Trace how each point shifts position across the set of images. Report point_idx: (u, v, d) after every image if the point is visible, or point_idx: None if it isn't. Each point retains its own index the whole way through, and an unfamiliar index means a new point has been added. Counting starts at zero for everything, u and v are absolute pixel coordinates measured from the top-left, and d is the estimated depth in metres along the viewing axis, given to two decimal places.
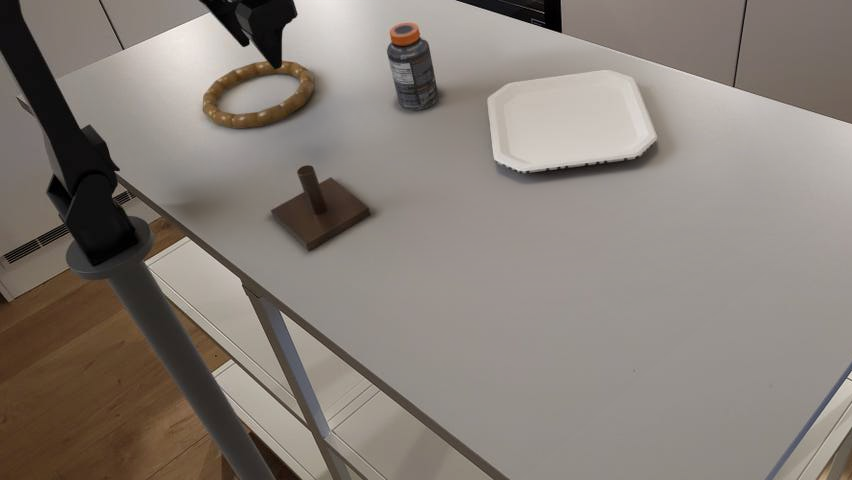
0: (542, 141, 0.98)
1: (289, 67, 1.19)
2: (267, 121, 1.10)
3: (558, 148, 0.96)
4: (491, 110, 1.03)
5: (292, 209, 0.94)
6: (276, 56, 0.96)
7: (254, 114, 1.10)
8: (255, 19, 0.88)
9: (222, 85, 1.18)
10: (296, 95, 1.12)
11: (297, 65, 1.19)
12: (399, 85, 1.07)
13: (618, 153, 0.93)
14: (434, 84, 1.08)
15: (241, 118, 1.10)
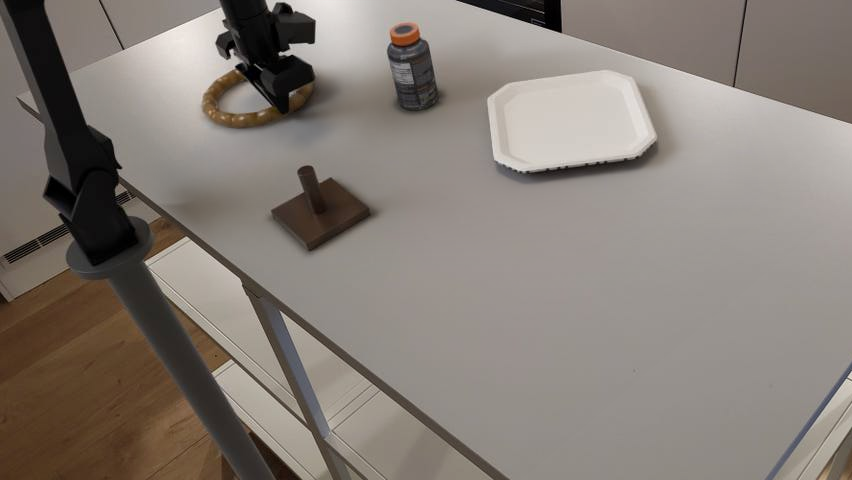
0: (542, 141, 0.98)
1: None
2: (267, 121, 1.10)
3: (558, 148, 0.96)
4: (491, 110, 1.03)
5: (292, 209, 0.94)
6: (284, 103, 1.09)
7: (254, 114, 1.10)
8: (279, 83, 0.99)
9: (222, 85, 1.18)
10: (296, 95, 1.12)
11: None
12: (399, 85, 1.07)
13: (618, 153, 0.93)
14: (434, 84, 1.08)
15: (240, 117, 1.10)
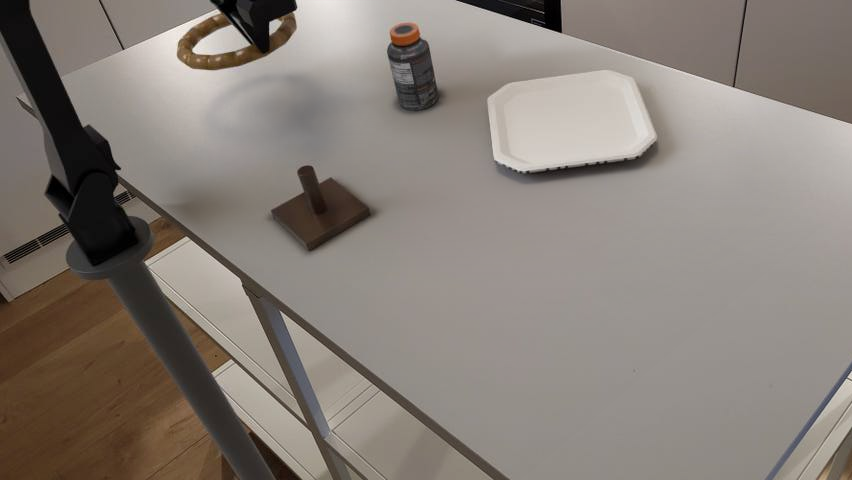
0: (542, 141, 0.98)
1: None
2: (246, 60, 1.01)
3: (558, 148, 0.96)
4: (491, 110, 1.03)
5: (292, 209, 0.94)
6: (264, 41, 1.00)
7: (231, 53, 1.00)
8: (256, 11, 0.89)
9: (198, 32, 1.09)
10: (276, 32, 1.03)
11: None
12: (399, 85, 1.07)
13: (618, 153, 0.93)
14: (434, 84, 1.08)
15: (217, 58, 1.00)
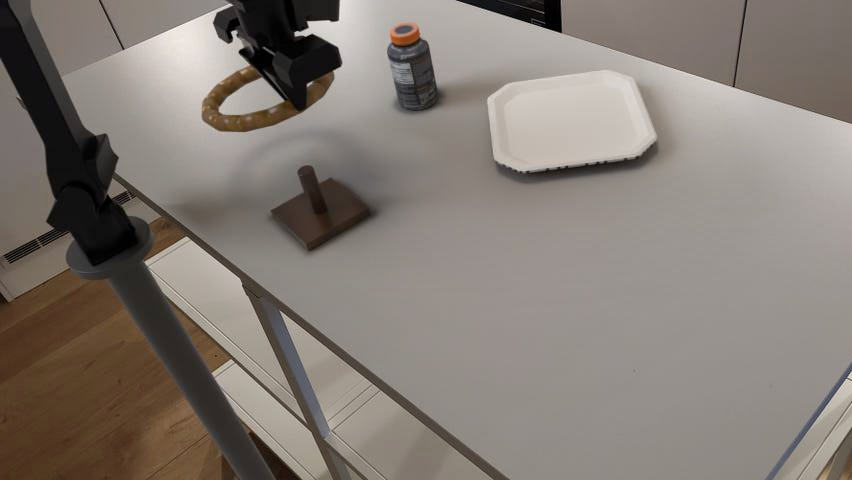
0: (542, 141, 0.98)
1: None
2: (280, 119, 0.88)
3: (558, 148, 0.96)
4: (491, 110, 1.03)
5: (292, 209, 0.94)
6: (300, 97, 0.87)
7: (263, 111, 0.88)
8: (297, 70, 0.77)
9: (224, 89, 0.97)
10: (313, 85, 0.90)
11: None
12: (399, 85, 1.07)
13: (618, 153, 0.93)
14: (434, 84, 1.08)
15: (247, 118, 0.88)
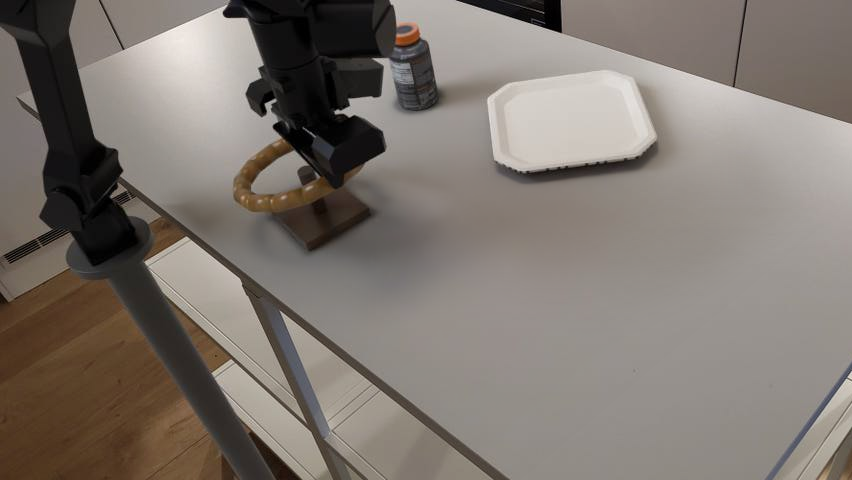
0: (542, 141, 0.98)
1: None
2: (316, 197, 0.82)
3: (558, 148, 0.96)
4: (491, 110, 1.03)
5: (292, 209, 0.94)
6: (338, 176, 0.81)
7: (298, 190, 0.82)
8: (339, 159, 0.70)
9: (257, 164, 0.92)
10: None
11: None
12: (399, 85, 1.07)
13: (618, 153, 0.93)
14: (434, 84, 1.08)
15: (281, 197, 0.82)
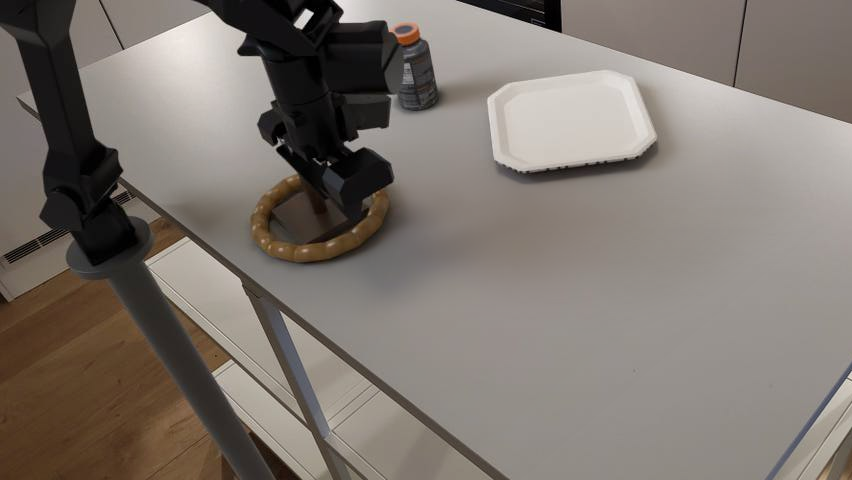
0: (542, 141, 0.98)
1: None
2: (337, 254, 0.88)
3: (558, 148, 0.96)
4: (491, 110, 1.03)
5: (292, 209, 0.94)
6: (355, 211, 0.83)
7: (321, 246, 0.87)
8: (349, 191, 0.73)
9: (272, 200, 0.95)
10: (371, 217, 0.90)
11: None
12: None
13: (618, 153, 0.93)
14: (434, 84, 1.08)
15: (305, 251, 0.87)
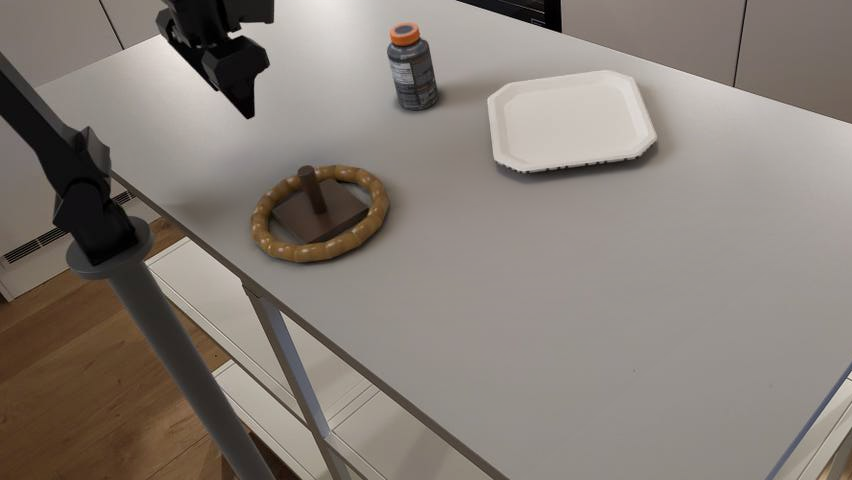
0: (542, 141, 0.98)
1: (354, 175, 0.97)
2: (337, 254, 0.88)
3: (558, 148, 0.96)
4: (491, 110, 1.03)
5: (292, 209, 0.94)
6: (248, 106, 0.88)
7: (321, 246, 0.87)
8: (222, 70, 0.80)
9: (272, 200, 0.95)
10: (371, 217, 0.90)
11: (364, 173, 0.96)
12: (399, 85, 1.07)
13: (618, 153, 0.93)
14: (434, 84, 1.08)
15: (305, 251, 0.87)
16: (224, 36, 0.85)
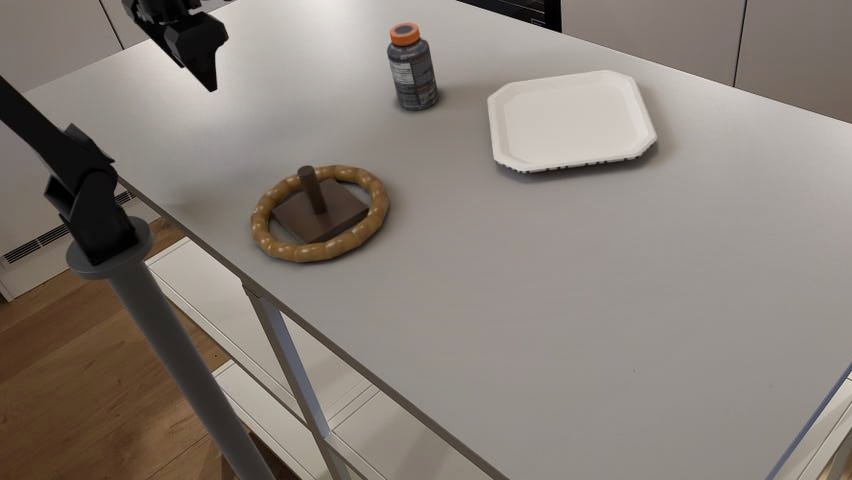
0: (542, 141, 0.98)
1: (354, 175, 0.97)
2: (337, 254, 0.88)
3: (558, 148, 0.96)
4: (491, 110, 1.03)
5: (292, 209, 0.94)
6: (210, 79, 0.94)
7: (321, 246, 0.87)
8: (183, 43, 0.86)
9: (272, 200, 0.95)
10: (371, 217, 0.90)
11: (364, 173, 0.96)
12: (399, 85, 1.07)
13: (618, 153, 0.93)
14: (434, 84, 1.08)
15: (305, 251, 0.87)
16: (185, 13, 0.91)
